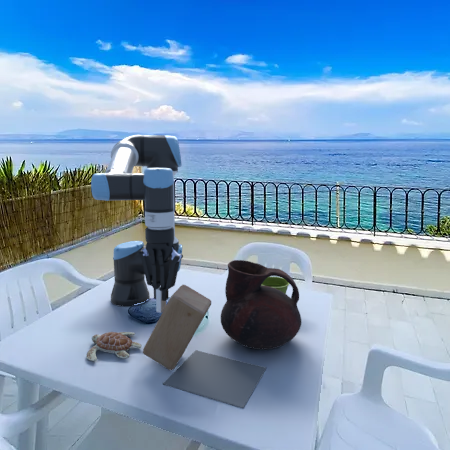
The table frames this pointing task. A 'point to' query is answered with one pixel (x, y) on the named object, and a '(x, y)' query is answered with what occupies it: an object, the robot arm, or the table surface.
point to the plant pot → (276, 283)
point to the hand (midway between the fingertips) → (161, 310)
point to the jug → (259, 307)
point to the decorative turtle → (112, 344)
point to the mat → (217, 378)
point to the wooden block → (176, 326)
